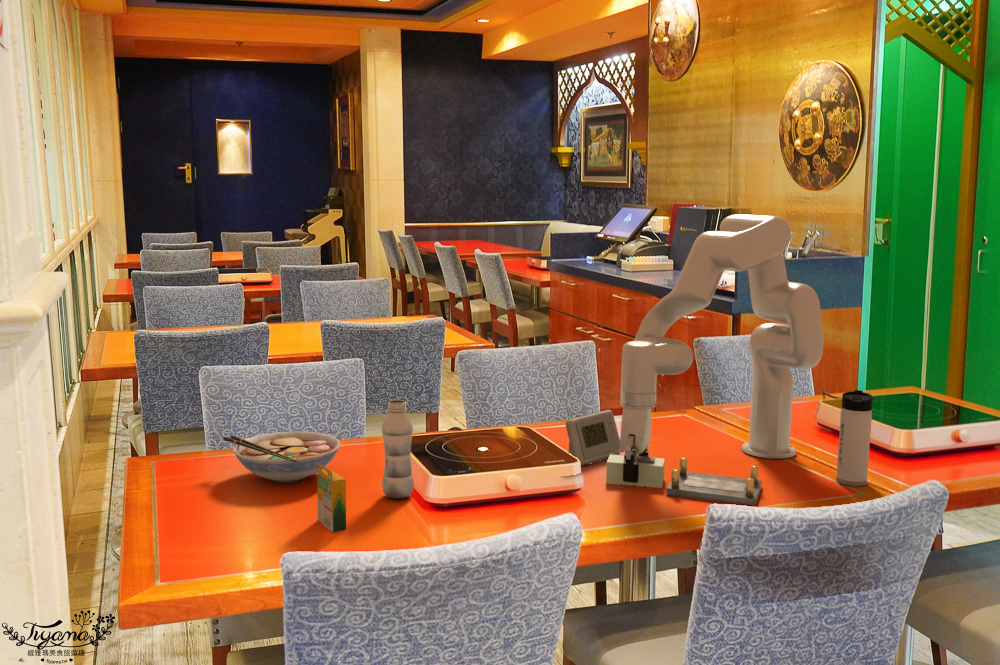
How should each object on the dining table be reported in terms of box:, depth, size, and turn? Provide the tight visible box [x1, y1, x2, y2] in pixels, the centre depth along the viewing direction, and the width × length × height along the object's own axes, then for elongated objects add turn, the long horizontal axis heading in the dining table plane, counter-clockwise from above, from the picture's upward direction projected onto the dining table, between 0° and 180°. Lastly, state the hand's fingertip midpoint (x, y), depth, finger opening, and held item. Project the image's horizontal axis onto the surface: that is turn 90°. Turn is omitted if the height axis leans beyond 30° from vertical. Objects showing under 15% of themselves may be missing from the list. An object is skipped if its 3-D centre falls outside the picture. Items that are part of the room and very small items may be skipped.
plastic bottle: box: [381, 399, 415, 499], centre depth 186 cm, size 6×7×20 cm
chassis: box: [665, 457, 763, 507], centre depth 193 cm, size 13×18×5 cm
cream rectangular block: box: [605, 454, 666, 489], centre depth 199 cm, size 6×12×6 cm, turn 76°
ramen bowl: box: [223, 431, 341, 483], centre depth 199 cm, size 25×23×8 cm
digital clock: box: [565, 409, 622, 466], centre depth 215 cm, size 16×9×11 cm, turn 123°
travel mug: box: [836, 389, 874, 487], centre depth 198 cm, size 6×7×20 cm
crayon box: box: [316, 462, 347, 533], centre depth 171 cm, size 7×3×12 cm, turn 33°
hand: (635, 475), depth 199 cm, fingers open, 9 cm apart
